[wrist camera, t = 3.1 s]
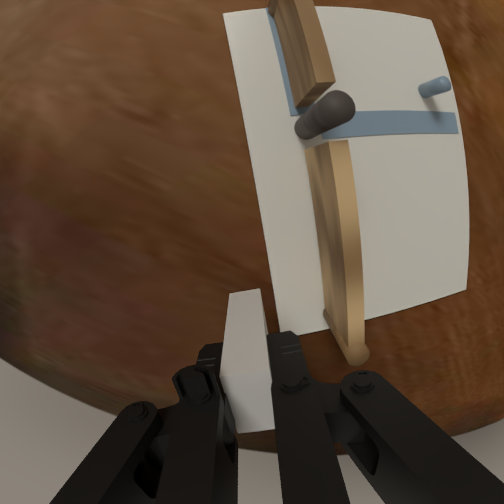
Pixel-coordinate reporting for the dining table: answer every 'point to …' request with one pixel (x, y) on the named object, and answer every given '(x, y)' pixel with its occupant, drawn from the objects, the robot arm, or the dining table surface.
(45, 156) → the dining table surface
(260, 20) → the card
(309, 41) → the fence fixed
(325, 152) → the fence panel
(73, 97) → the dining table surface
